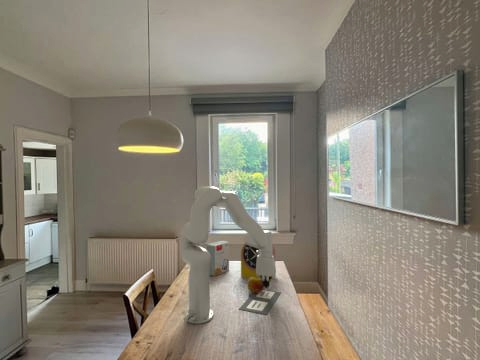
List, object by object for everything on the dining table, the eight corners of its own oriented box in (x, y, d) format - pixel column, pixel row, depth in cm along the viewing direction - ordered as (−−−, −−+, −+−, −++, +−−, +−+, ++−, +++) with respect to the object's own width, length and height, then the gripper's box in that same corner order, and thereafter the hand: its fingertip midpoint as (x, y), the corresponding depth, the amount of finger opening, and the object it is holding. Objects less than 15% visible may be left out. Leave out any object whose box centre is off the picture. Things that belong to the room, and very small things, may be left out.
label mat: (266, 315, 119) (266, 314, 119) (238, 309, 124) (238, 308, 124) (281, 292, 143) (281, 291, 143) (257, 288, 148) (257, 287, 148)
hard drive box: (214, 276, 168) (214, 246, 168) (206, 274, 173) (205, 244, 173) (229, 270, 180) (229, 241, 181) (221, 268, 185) (221, 240, 185)
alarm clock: (240, 276, 168) (240, 235, 168) (245, 271, 176) (245, 233, 177) (272, 280, 160) (271, 238, 160) (275, 275, 168) (275, 235, 168)
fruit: (268, 291, 143) (267, 276, 143) (257, 296, 136) (256, 281, 137) (255, 287, 150) (254, 273, 150) (244, 292, 143) (243, 278, 144)
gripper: (250, 254, 140) (251, 288, 140) (277, 256, 134) (278, 292, 134) (255, 250, 147) (256, 282, 147) (280, 252, 141) (281, 286, 141)
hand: (266, 287), depth 140 cm, fingers closed
